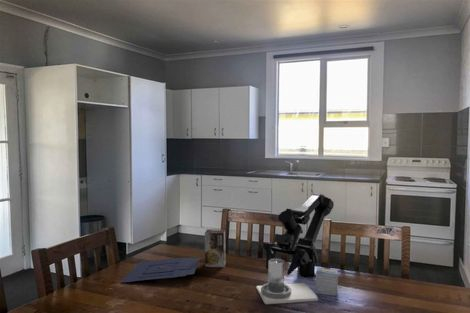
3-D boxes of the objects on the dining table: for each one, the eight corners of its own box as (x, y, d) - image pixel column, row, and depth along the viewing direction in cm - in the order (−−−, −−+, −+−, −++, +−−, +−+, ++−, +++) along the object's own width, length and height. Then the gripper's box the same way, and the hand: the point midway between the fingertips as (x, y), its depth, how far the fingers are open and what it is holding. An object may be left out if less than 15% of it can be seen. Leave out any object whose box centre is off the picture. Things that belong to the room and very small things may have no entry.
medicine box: (337, 292, 141) (338, 270, 141) (337, 296, 137) (337, 274, 136) (317, 289, 144) (317, 267, 143) (315, 293, 139) (316, 271, 139)
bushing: (278, 286, 143) (279, 256, 143) (290, 294, 136) (291, 262, 136) (261, 290, 140) (261, 259, 139) (273, 298, 133) (273, 266, 132)
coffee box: (225, 262, 173) (226, 229, 172) (224, 267, 166) (224, 232, 166) (206, 262, 174) (207, 228, 173) (204, 266, 167) (204, 232, 167)
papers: (194, 282, 146) (193, 273, 146) (121, 289, 148) (120, 280, 148) (202, 261, 171) (201, 254, 170) (139, 268, 172) (138, 260, 172)
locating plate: (304, 285, 147) (304, 279, 147) (318, 300, 133) (318, 293, 133) (256, 288, 144) (256, 282, 144) (265, 304, 130) (265, 297, 130)
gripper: (264, 221, 147) (248, 256, 139) (306, 229, 136) (292, 266, 127) (273, 236, 154) (259, 270, 145) (315, 244, 142) (301, 281, 134)
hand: (277, 271), depth 138 cm, fingers open, 9 cm apart
